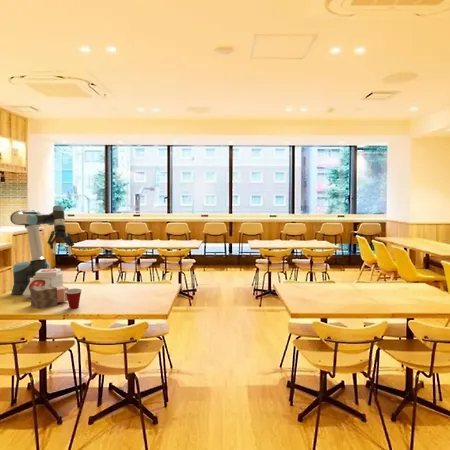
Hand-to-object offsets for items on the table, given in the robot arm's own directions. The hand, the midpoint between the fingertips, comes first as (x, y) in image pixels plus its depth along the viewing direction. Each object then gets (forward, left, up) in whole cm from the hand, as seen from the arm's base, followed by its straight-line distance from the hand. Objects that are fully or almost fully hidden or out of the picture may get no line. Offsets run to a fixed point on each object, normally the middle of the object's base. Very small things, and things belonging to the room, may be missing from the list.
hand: (61, 254), depth 312 cm
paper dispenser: (-26, +9, -34) cm, 44 cm away
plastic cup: (+19, -12, -34) cm, 41 cm away
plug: (-1, -5, -33) cm, 33 cm away
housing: (-5, -13, -34) cm, 37 cm away
